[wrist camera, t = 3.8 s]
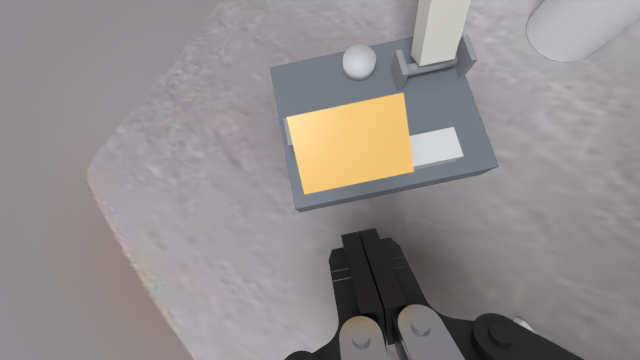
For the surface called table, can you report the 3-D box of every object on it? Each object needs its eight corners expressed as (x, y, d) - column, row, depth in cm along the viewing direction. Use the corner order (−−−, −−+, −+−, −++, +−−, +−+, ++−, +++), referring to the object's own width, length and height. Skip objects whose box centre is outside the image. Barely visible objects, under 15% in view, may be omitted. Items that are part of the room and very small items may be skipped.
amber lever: (346, 112, 23) (425, 87, 7) (350, 137, 23) (434, 167, 7) (296, 123, 23) (264, 121, 7) (302, 147, 23) (283, 198, 8)
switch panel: (436, 50, 28) (459, 8, 23) (479, 174, 25) (517, 157, 20) (276, 85, 28) (263, 50, 23) (299, 212, 25) (290, 205, 20)
